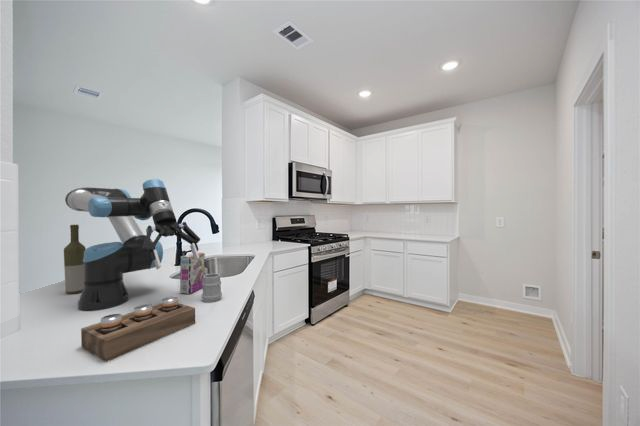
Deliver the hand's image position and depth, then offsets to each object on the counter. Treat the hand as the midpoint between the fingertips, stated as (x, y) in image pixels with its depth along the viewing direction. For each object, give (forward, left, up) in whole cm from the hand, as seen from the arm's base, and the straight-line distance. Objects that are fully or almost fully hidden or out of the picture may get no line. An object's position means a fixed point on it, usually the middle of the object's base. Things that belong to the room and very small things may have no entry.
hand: (179, 263), depth 96 cm
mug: (+1, +13, -17) cm, 21 cm away
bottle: (-57, -11, -17) cm, 61 cm away
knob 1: (+10, -25, -14) cm, 30 cm away
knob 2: (+10, -17, -14) cm, 24 cm away
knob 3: (+10, -9, -14) cm, 19 cm away
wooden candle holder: (+10, -17, -17) cm, 26 cm away
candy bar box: (-14, +16, -17) cm, 27 cm away
